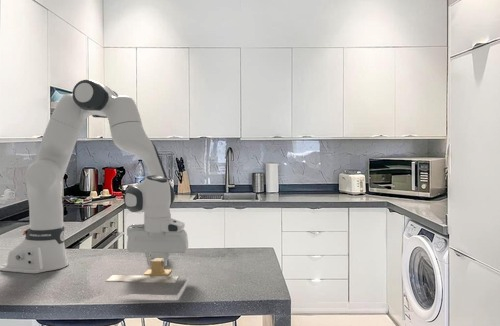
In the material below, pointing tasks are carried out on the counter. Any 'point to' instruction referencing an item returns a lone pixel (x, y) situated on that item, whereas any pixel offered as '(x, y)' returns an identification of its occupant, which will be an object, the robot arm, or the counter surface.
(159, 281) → the board
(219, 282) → the counter surface
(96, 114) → the robot arm
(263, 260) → the counter surface
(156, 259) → the stepped wooden block
